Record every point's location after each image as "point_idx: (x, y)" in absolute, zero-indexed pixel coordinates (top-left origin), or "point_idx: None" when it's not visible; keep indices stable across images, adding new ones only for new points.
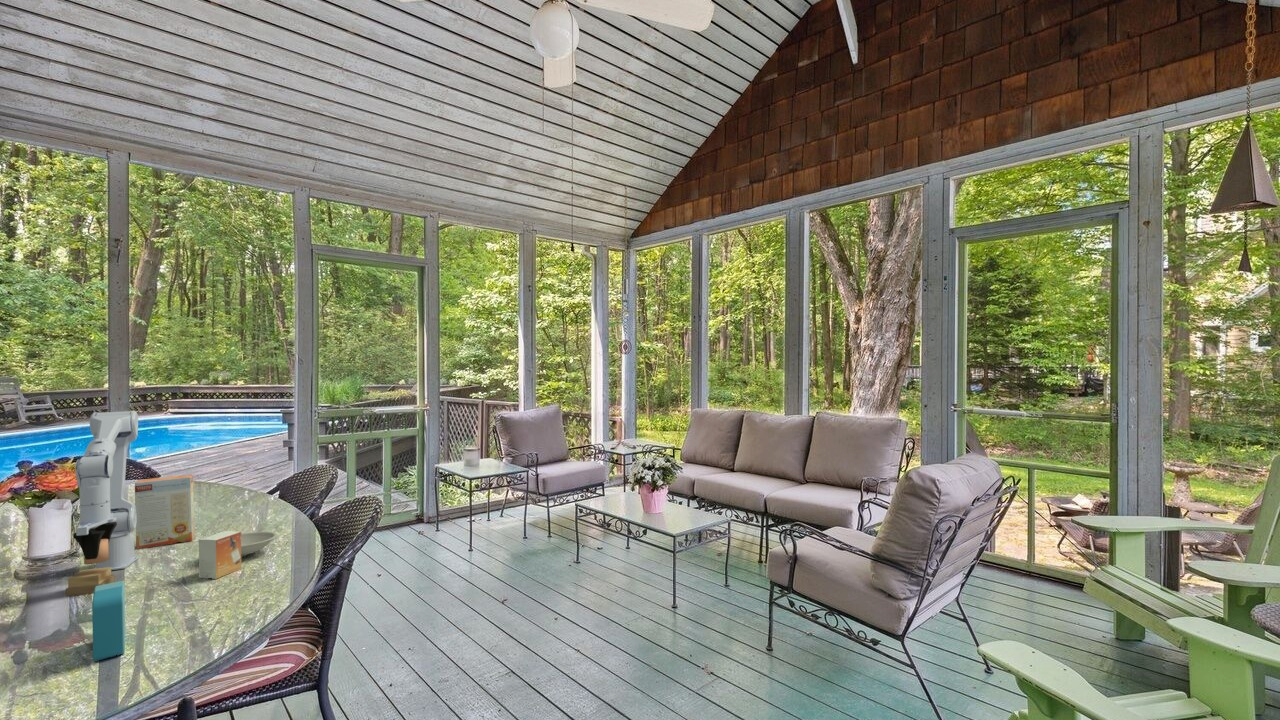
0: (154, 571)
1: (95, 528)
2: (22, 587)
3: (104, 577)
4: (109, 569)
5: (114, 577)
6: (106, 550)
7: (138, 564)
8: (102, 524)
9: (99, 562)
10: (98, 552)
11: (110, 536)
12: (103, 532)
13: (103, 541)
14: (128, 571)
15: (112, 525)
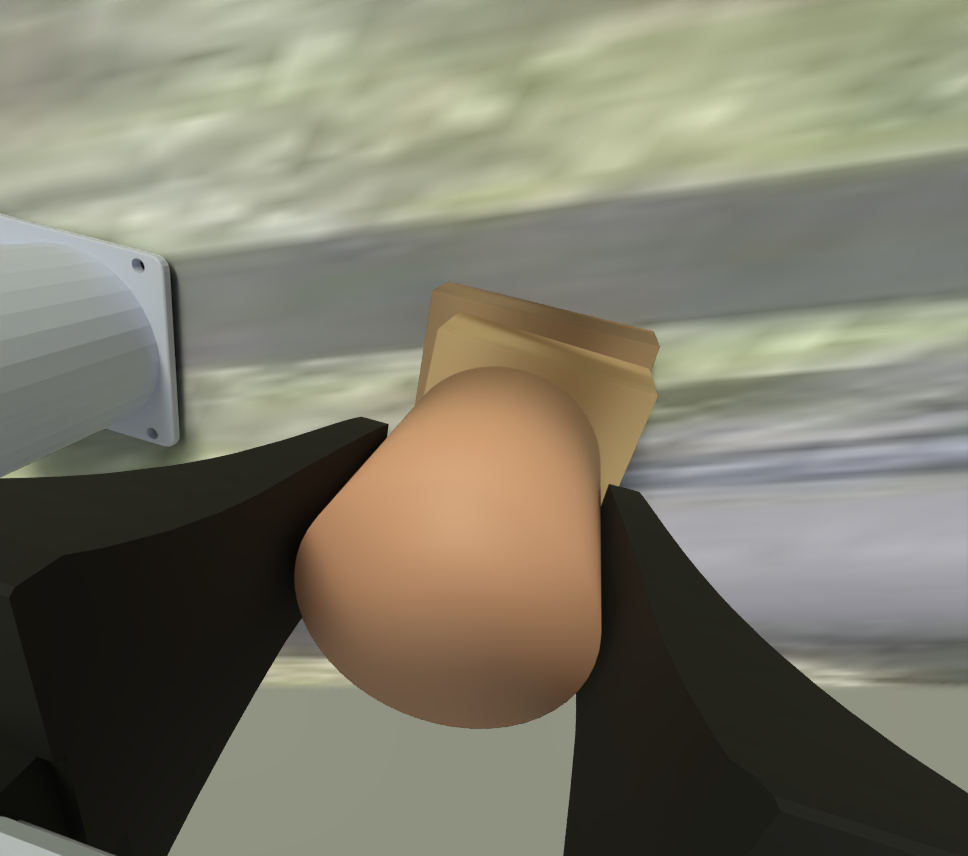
0: (327, 6)
1: (142, 808)
2: (284, 656)
3: (556, 348)
4: (466, 333)
5: (442, 288)
6: (527, 427)
7: (87, 181)
8: (31, 810)
9: (593, 435)
10: (623, 508)
11: (221, 464)
12: (820, 777)
13: (501, 537)
14: (233, 225)
15: (59, 591)
